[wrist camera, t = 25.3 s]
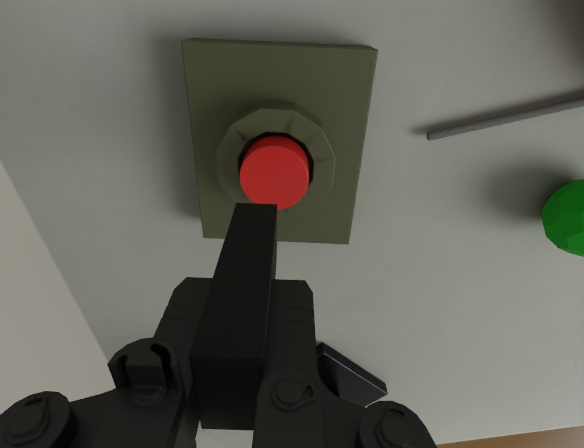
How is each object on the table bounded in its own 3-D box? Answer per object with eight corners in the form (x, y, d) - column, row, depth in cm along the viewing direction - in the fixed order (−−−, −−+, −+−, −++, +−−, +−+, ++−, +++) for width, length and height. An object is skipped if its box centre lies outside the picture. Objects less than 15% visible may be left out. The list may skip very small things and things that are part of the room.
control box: (192, 37, 19) (169, 42, 16) (370, 45, 19) (385, 52, 16) (210, 221, 26) (196, 253, 22) (345, 227, 26) (352, 260, 22)
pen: (429, 137, 21) (690, 78, 19) (427, 129, 21) (684, 70, 19) (428, 145, 22) (679, 89, 20) (425, 137, 22) (673, 81, 20)
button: (242, 133, 18) (237, 144, 17) (310, 136, 18) (310, 147, 17) (245, 194, 20) (240, 208, 19) (306, 197, 20) (306, 211, 19)
